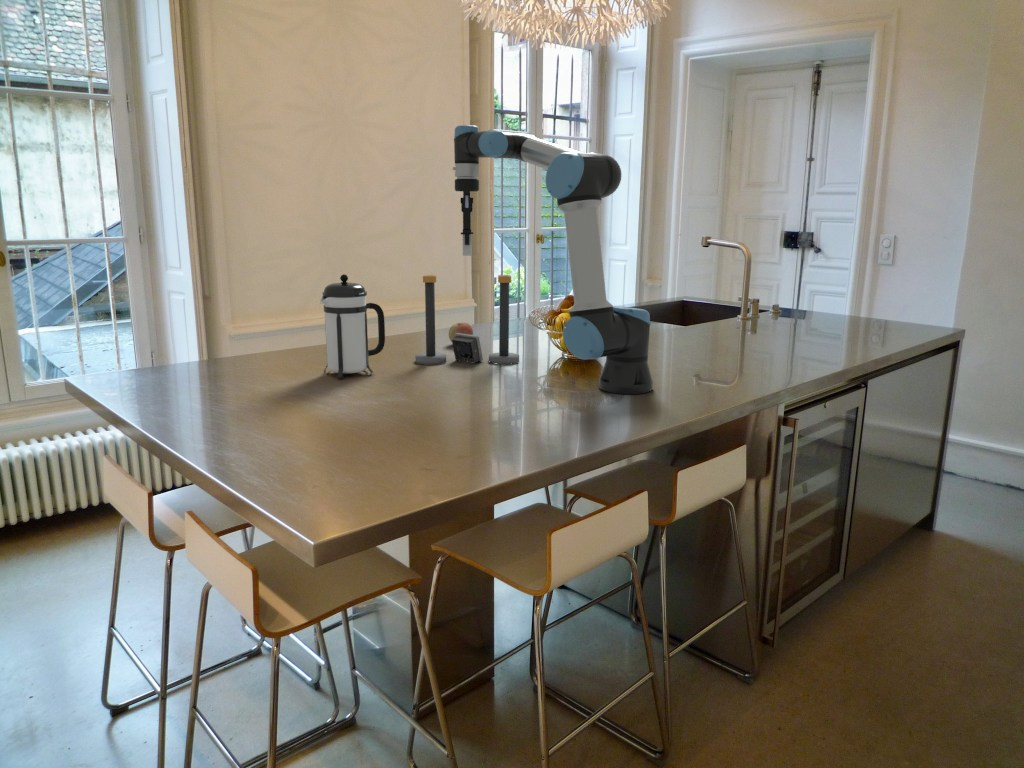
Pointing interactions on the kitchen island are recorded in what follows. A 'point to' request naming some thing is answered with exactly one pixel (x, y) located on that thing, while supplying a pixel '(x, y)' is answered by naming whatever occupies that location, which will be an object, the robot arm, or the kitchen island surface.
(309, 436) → the kitchen island surface
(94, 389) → the kitchen island surface
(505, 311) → the post
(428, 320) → the post
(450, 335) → the apple
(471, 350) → the electrical switch
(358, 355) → the coffee press
